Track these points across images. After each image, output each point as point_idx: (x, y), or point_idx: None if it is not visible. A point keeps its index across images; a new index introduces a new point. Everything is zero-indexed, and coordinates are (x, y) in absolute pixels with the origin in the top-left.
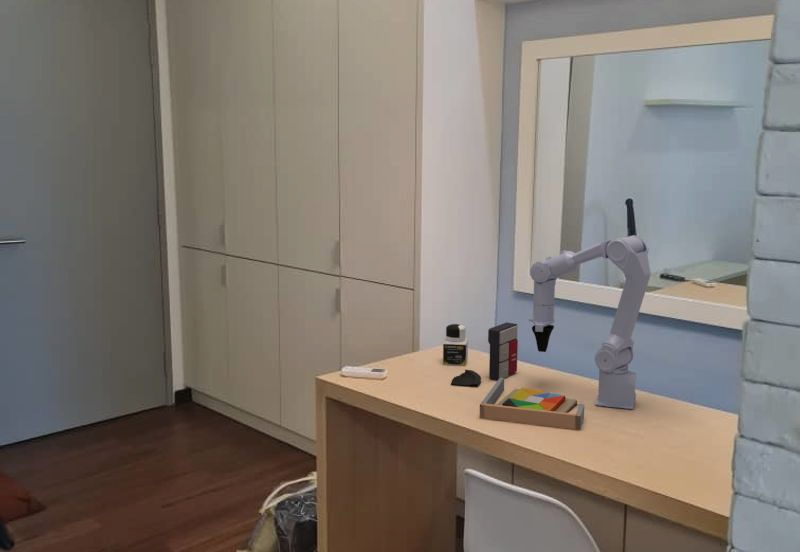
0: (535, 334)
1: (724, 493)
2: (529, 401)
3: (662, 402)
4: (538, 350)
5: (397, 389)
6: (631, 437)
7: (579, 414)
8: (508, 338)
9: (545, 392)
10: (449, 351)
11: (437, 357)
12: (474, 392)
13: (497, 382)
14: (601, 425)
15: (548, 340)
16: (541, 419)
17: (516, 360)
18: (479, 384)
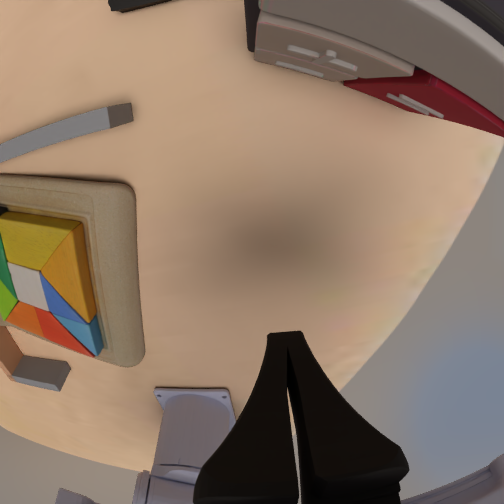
0: (227, 442)
1: (24, 437)
2: (12, 277)
3: None
4: (268, 338)
5: None
6: (60, 412)
7: (14, 379)
8: (436, 69)
9: (81, 311)
10: None
11: None
12: (63, 39)
13: (42, 132)
14: (65, 388)
15: (296, 432)
16: None
17: (430, 114)
18: (159, 3)
